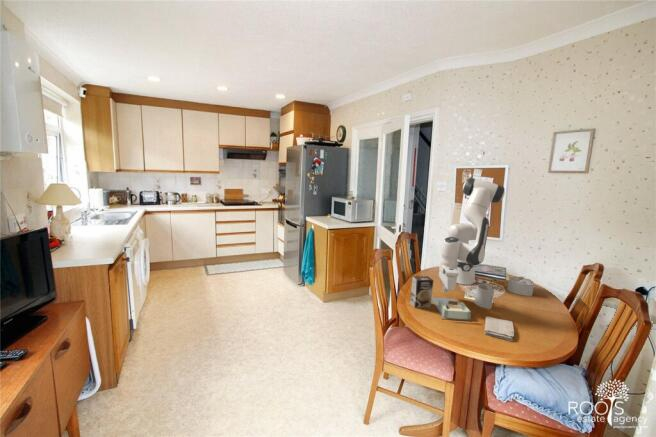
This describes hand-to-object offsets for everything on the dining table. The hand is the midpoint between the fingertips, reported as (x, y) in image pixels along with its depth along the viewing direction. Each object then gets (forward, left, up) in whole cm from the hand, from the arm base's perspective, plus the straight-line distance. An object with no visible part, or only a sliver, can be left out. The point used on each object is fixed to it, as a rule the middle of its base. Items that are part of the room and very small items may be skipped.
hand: (445, 291), depth 170 cm
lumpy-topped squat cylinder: (-26, +53, -8) cm, 60 cm away
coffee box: (+6, -14, -8) cm, 17 cm away
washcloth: (+25, +18, -8) cm, 32 cm away
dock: (+7, +1, -7) cm, 10 cm away
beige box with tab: (+14, +1, -6) cm, 15 cm away
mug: (-2, +22, -8) cm, 23 cm away
